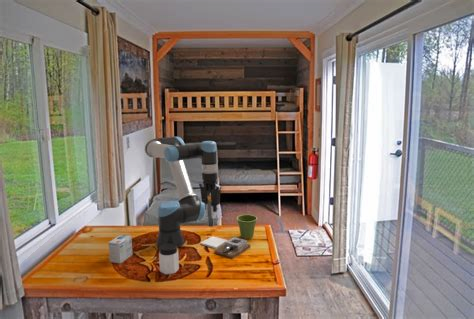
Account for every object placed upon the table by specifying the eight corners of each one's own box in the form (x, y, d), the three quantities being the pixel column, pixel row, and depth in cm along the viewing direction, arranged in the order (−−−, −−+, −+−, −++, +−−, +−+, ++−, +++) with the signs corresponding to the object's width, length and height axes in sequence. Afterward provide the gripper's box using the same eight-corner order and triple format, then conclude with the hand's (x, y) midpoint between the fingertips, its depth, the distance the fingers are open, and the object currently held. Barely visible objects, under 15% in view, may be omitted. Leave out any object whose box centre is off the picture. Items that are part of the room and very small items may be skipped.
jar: (160, 275, 175) (158, 251, 173) (159, 267, 183) (158, 244, 181) (179, 273, 177) (178, 249, 175) (178, 265, 185) (177, 242, 183)
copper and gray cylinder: (207, 225, 195) (206, 195, 192) (211, 224, 197) (210, 194, 194) (211, 227, 193) (210, 196, 190) (215, 225, 195) (214, 195, 192)
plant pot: (234, 239, 215) (234, 220, 213) (239, 231, 227) (239, 214, 225) (255, 241, 213) (255, 222, 211) (258, 233, 224) (258, 215, 222)
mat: (200, 244, 210) (200, 242, 209) (212, 237, 218) (212, 236, 218) (216, 248, 203) (215, 247, 203) (228, 241, 212) (228, 240, 212)
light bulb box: (122, 253, 200) (120, 233, 198) (133, 255, 198) (131, 235, 196) (109, 262, 190) (107, 241, 188) (120, 263, 188) (119, 243, 186)
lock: (214, 252, 198) (214, 245, 198) (232, 242, 211) (232, 235, 210) (233, 258, 192) (232, 251, 191) (250, 247, 204) (250, 240, 204)
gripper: (192, 171, 192) (194, 216, 196) (216, 175, 182) (218, 221, 186) (203, 169, 198) (204, 212, 202) (226, 172, 188) (228, 217, 192)
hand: (211, 216), depth 194 cm, fingers closed on copper and gray cylinder, 3 cm apart
